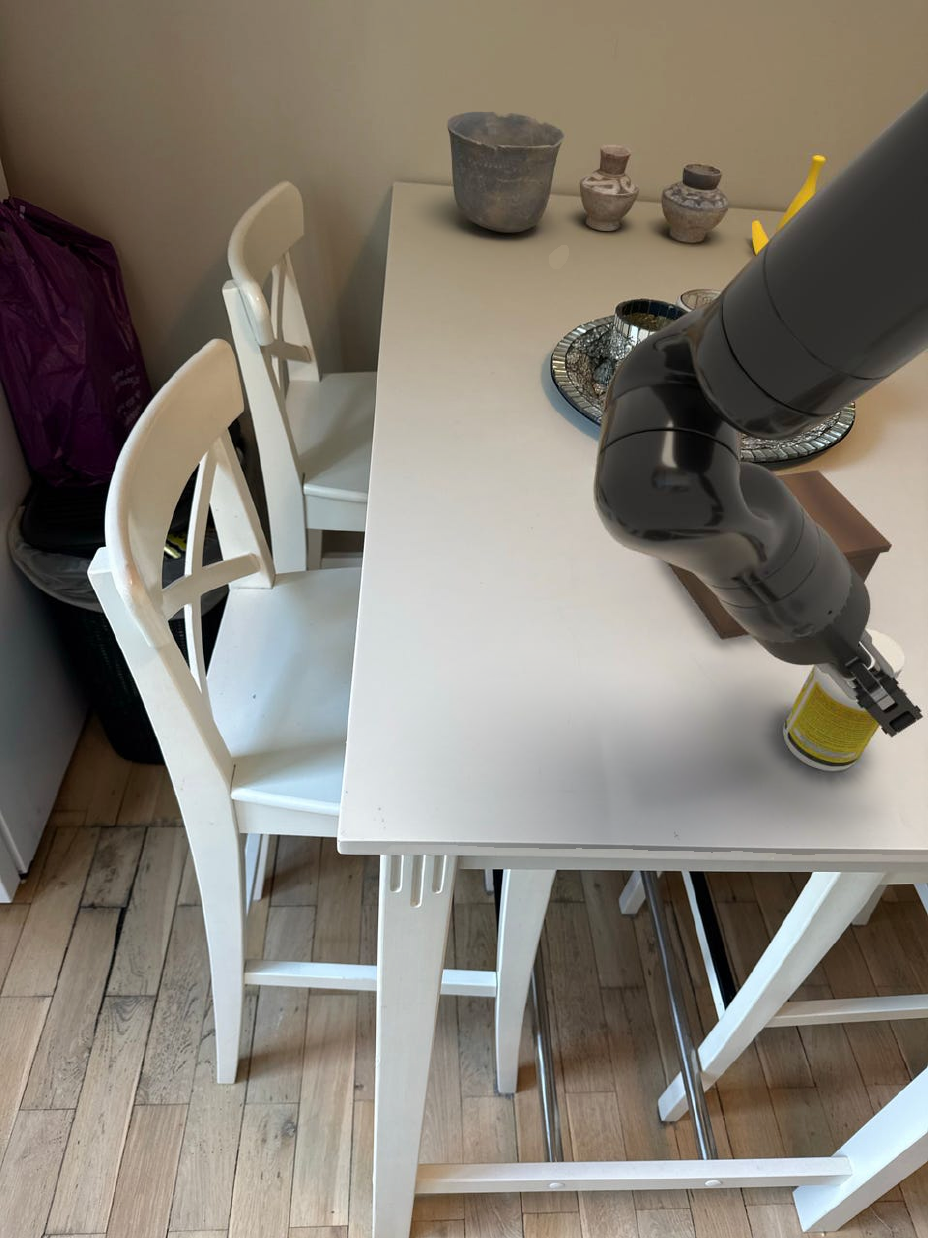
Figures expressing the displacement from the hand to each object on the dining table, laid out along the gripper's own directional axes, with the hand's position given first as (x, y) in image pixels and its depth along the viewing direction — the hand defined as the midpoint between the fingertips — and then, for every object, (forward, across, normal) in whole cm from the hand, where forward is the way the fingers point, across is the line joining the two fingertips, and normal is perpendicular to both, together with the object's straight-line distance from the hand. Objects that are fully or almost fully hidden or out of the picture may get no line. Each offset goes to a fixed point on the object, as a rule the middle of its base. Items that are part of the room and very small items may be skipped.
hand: (865, 675), depth 67 cm
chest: (+9, +18, +3) cm, 21 cm away
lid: (+3, +18, -3) cm, 19 cm away
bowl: (+12, +108, 0) cm, 108 cm away
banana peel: (+40, +86, -29) cm, 99 cm away
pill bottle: (+5, 0, +6) cm, 8 cm away
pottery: (+30, +103, -18) cm, 109 cm away
